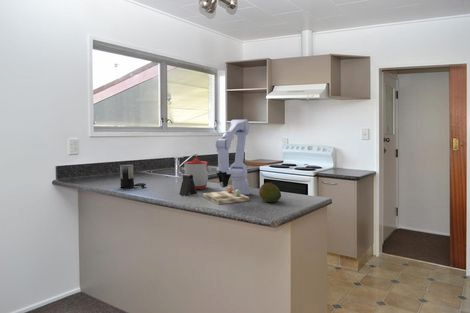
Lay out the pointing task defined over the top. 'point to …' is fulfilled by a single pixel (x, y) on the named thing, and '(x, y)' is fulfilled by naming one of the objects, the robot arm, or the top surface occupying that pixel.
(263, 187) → the fruit
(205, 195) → the birch plate
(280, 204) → the top surface
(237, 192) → the sage ball
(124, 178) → the milk frother
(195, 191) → the door stopper
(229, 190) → the terracotta ball
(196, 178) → the citrus juicer
